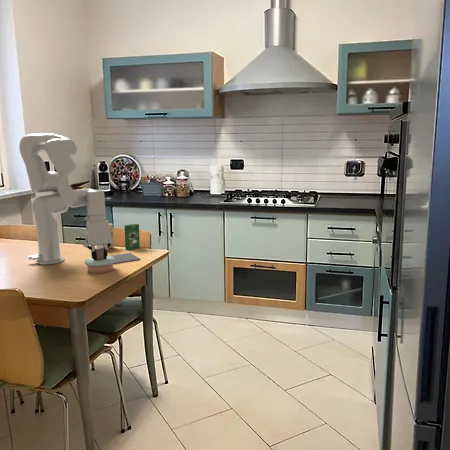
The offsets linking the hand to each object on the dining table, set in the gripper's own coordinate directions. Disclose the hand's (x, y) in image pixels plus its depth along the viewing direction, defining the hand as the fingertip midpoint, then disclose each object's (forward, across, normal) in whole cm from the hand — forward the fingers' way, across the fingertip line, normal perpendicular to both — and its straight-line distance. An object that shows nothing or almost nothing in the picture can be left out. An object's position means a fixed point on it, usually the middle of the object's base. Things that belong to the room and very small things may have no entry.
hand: (99, 258), depth 210 cm
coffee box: (+5, +26, +30) cm, 40 cm away
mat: (+5, +14, +13) cm, 20 cm away
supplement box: (+6, +14, +38) cm, 41 cm away
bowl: (+5, 0, 0) cm, 5 cm away
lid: (+2, 0, 0) cm, 2 cm away
